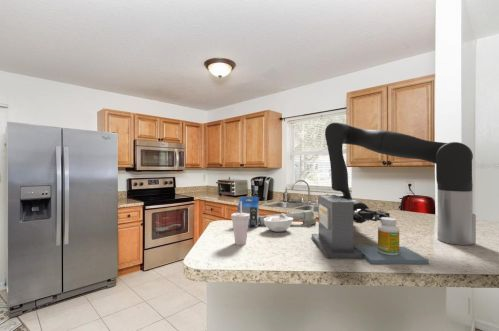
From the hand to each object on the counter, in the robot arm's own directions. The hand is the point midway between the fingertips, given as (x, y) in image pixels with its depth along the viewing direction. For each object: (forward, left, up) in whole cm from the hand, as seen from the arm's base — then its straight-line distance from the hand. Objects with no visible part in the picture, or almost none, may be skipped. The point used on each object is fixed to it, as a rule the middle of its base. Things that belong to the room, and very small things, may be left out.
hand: (375, 220), depth 82 cm
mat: (0, +8, -8) cm, 12 cm away
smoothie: (+43, -4, -9) cm, 44 cm away
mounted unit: (+13, 0, -8) cm, 15 cm away
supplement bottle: (0, +8, -8) cm, 11 cm away
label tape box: (+41, -28, -9) cm, 50 cm away
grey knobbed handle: (+24, -30, -9) cm, 40 cm away
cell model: (+29, -20, -9) cm, 36 cm away
